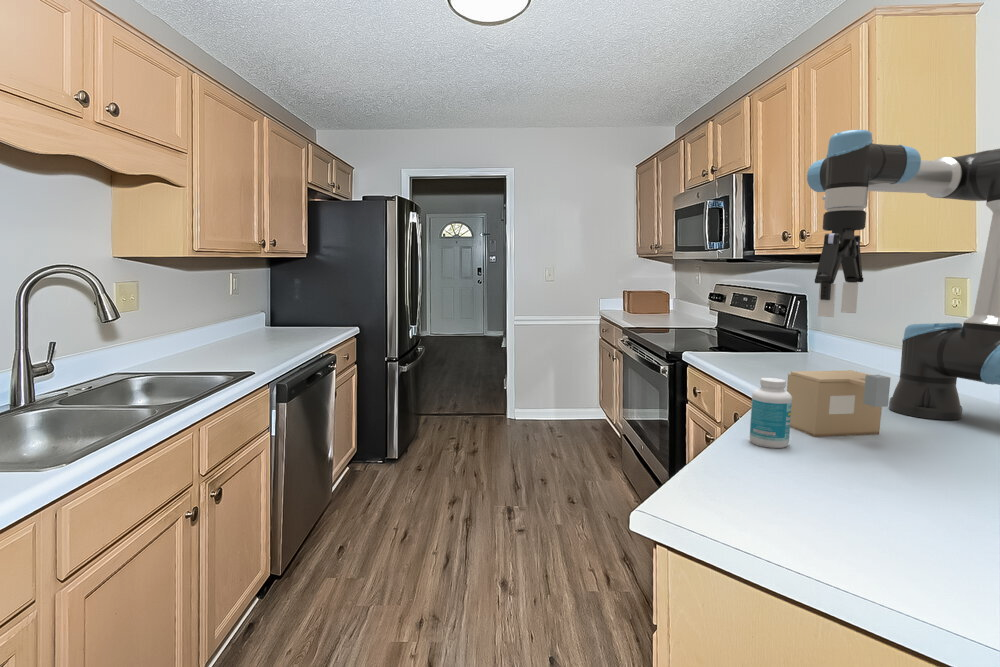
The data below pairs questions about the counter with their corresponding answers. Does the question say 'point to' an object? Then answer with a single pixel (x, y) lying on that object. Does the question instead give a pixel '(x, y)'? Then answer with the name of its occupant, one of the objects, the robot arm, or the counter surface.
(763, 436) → the pill bottle
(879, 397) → the flap
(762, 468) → the counter surface
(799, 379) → the carton
